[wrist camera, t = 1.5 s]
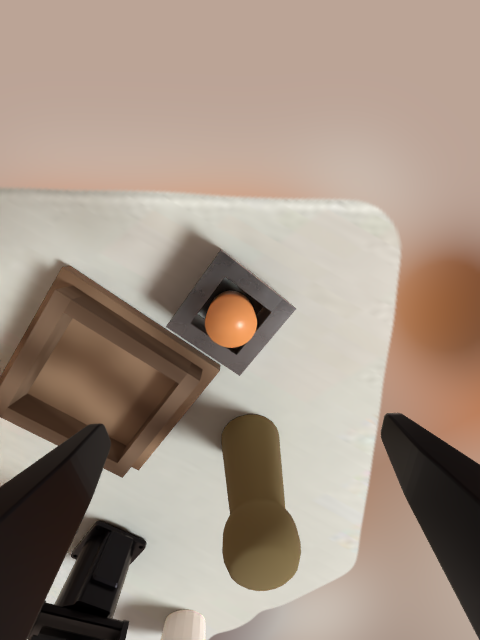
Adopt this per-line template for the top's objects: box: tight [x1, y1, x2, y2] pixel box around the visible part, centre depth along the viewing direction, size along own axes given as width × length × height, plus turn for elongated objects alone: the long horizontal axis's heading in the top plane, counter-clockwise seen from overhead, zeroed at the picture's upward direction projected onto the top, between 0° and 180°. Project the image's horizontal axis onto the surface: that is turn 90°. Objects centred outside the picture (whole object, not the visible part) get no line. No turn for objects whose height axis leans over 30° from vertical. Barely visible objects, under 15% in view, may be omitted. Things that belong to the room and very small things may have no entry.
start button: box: [205, 291, 257, 348], centre depth 18 cm, size 4×4×3 cm
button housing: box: [166, 250, 296, 376], centre depth 19 cm, size 7×7×3 cm
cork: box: [221, 414, 301, 591], centre depth 20 cm, size 6×6×11 cm
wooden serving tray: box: [0, 266, 220, 478], centre depth 21 cm, size 14×15×3 cm
